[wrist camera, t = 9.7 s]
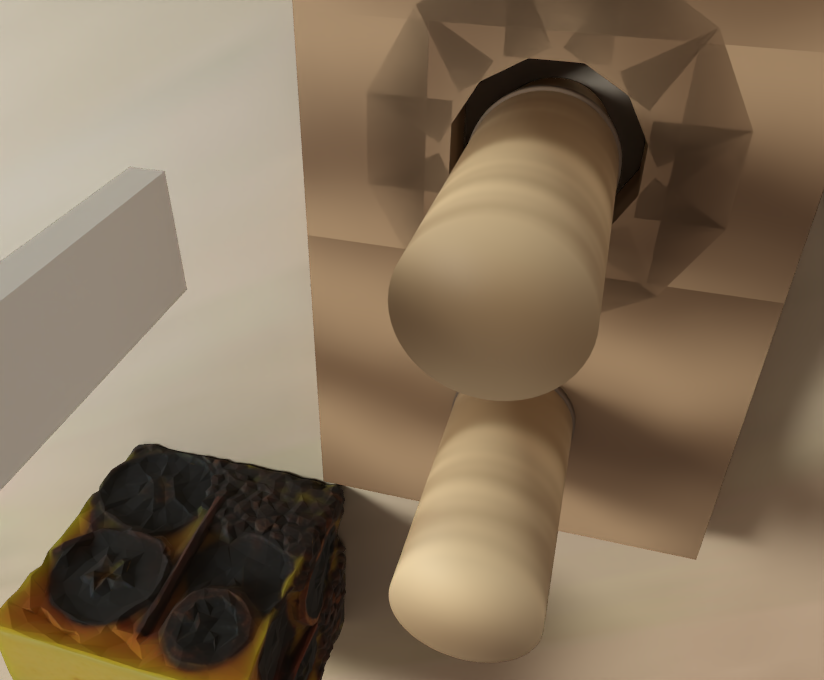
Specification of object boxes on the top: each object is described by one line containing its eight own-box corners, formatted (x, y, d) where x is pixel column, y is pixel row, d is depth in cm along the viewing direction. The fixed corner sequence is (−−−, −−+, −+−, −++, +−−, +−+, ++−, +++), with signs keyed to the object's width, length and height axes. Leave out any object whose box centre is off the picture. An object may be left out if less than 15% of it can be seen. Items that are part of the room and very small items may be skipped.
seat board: (310, -208, 19) (62, -221, 11) (928, -196, 16) (1179, -202, 8) (340, 447, 32) (232, 660, 24) (694, 518, 29) (705, 786, 21)
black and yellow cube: (347, 482, 33) (247, 695, 25) (349, 625, 39) (268, 835, 31) (134, 433, 35) (-23, 617, 27) (166, 577, 41) (45, 763, 33)
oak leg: (487, 57, 22) (384, 200, 14) (637, 71, 21) (620, 232, 13) (477, 194, 24) (384, 383, 16) (612, 210, 23) (585, 420, 15)
